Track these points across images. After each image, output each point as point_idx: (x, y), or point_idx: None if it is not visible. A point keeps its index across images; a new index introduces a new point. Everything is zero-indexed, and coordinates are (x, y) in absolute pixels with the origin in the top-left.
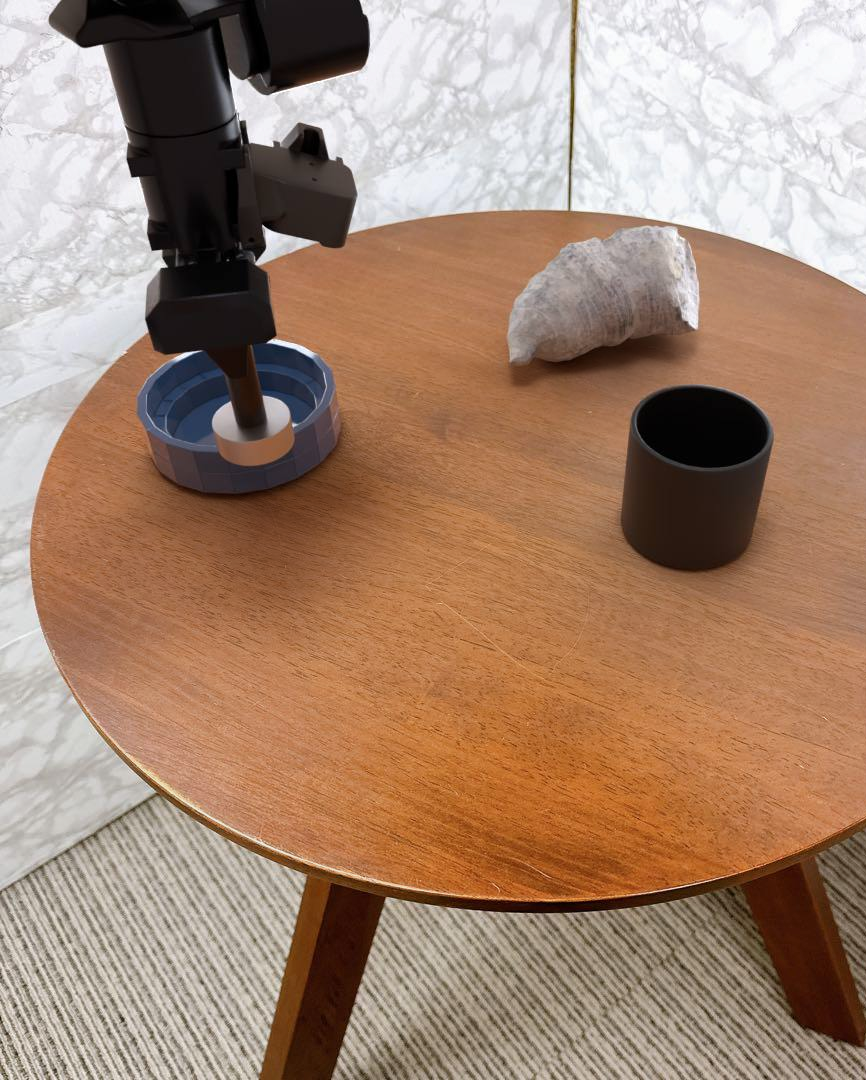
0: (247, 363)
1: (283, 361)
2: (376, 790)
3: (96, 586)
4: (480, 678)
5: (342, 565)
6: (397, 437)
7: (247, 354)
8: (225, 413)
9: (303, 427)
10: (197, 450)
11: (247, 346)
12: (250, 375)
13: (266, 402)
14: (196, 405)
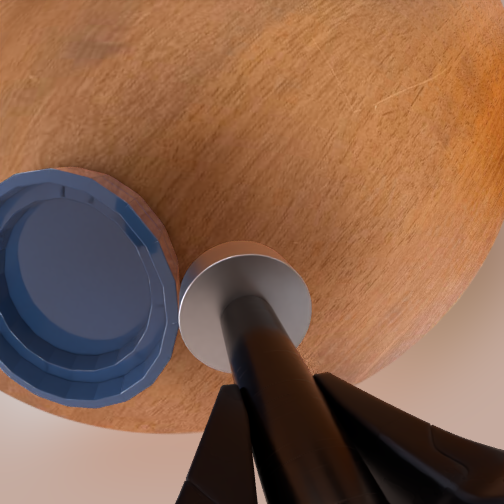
0: (358, 389)
1: None
2: (483, 199)
3: None
4: (441, 107)
5: (309, 185)
6: (100, 98)
7: (384, 402)
8: (224, 358)
9: (138, 218)
10: (171, 354)
11: (409, 415)
12: (304, 363)
13: (205, 295)
14: (32, 332)
